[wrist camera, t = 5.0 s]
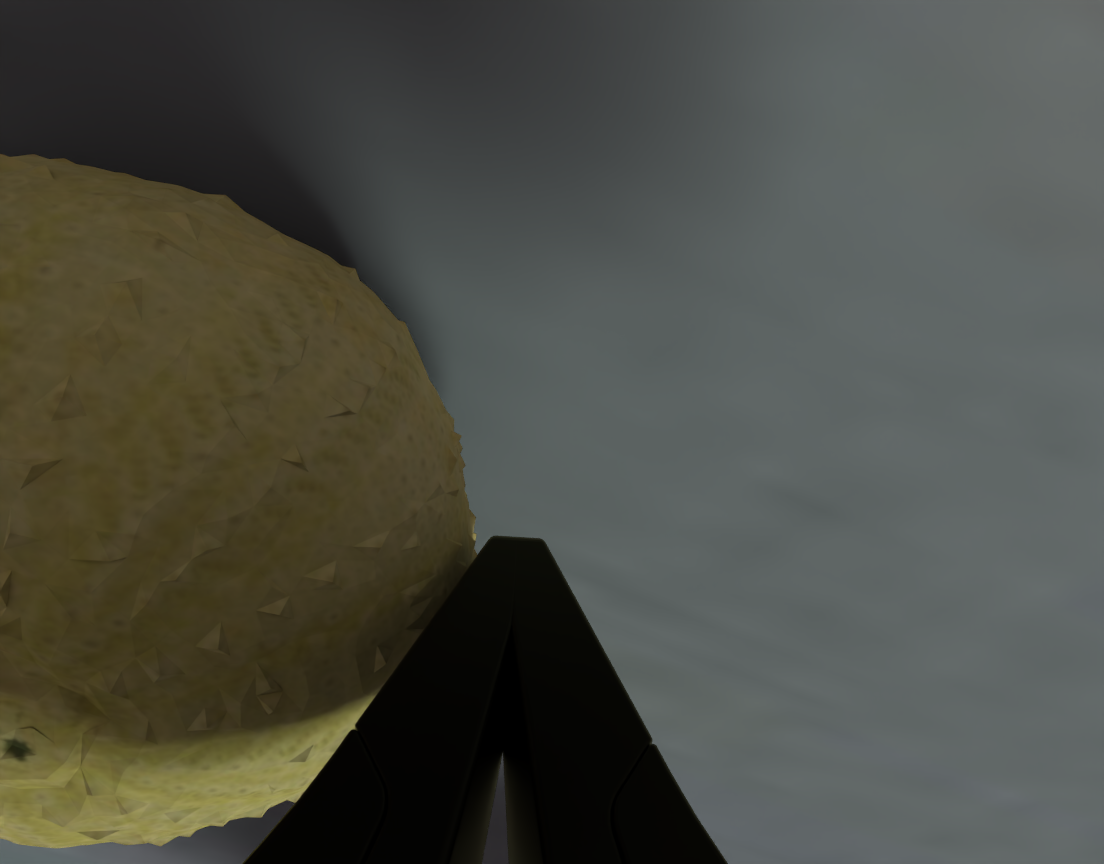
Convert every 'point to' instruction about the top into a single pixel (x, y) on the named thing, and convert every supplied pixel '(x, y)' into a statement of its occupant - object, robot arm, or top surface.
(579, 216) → the top surface
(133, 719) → the sea urchin shell
